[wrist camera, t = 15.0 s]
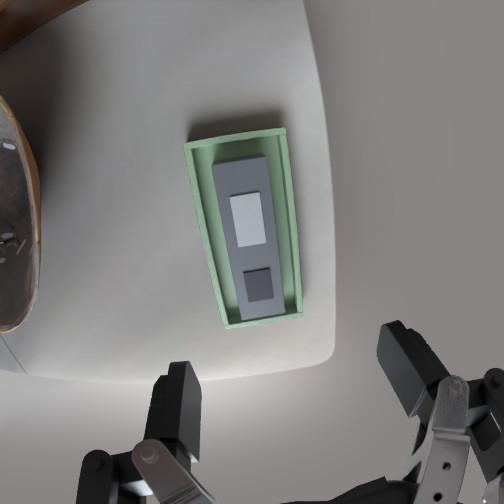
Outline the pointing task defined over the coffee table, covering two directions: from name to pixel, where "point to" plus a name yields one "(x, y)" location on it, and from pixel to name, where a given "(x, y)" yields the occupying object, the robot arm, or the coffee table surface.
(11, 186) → the bowl
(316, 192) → the coffee table surface
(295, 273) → the tray
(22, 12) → the brown wooden open box
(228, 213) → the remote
